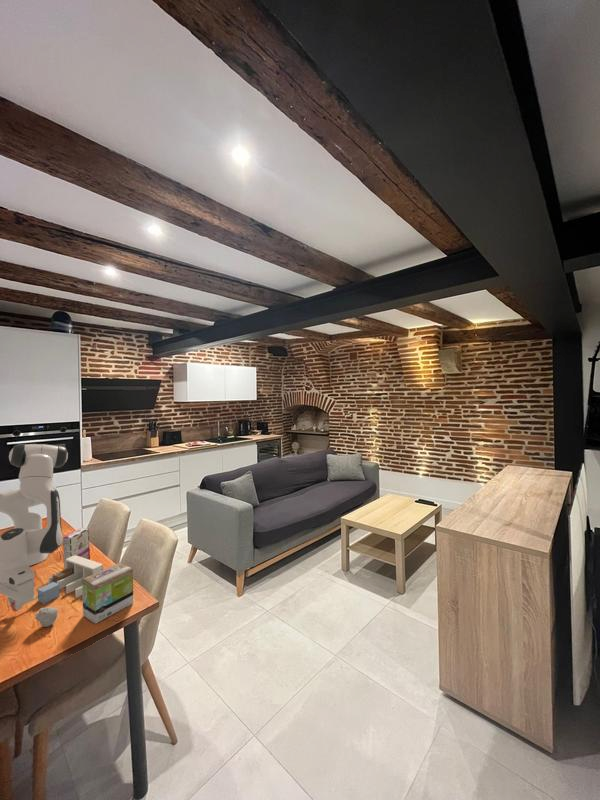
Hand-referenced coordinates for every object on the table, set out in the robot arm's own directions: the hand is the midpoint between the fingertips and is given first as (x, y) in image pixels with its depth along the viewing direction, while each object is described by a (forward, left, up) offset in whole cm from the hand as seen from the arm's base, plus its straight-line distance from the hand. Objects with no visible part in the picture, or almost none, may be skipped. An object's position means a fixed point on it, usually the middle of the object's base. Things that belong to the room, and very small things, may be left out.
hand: (15, 607), depth 133 cm
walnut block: (-7, +21, -3) cm, 22 cm away
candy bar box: (-19, +34, -3) cm, 39 cm away
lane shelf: (0, +23, -3) cm, 23 cm away
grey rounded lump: (+18, +2, -3) cm, 19 cm away
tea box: (+30, +18, -3) cm, 35 cm away
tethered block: (0, +7, -3) cm, 7 cm away
